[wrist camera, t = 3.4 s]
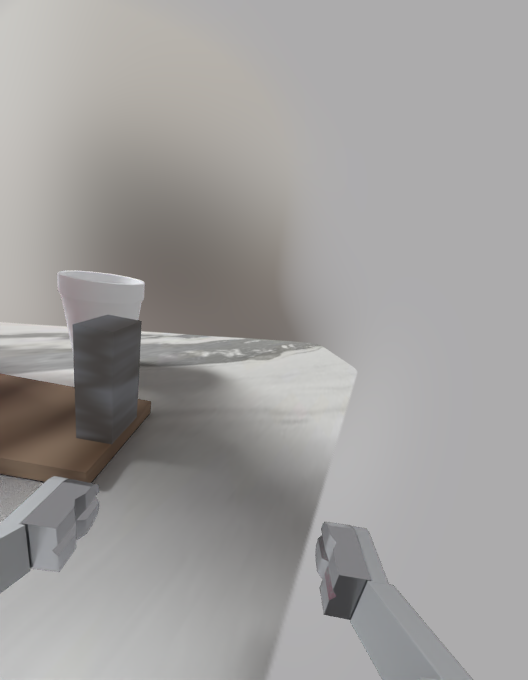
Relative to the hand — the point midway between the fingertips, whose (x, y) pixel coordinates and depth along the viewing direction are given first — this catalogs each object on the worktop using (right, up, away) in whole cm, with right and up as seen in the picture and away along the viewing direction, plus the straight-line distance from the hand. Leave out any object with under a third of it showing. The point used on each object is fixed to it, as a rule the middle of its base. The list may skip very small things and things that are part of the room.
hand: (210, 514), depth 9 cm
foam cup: (-21, +2, +27) cm, 34 cm away
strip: (-25, -1, +14) cm, 29 cm away
